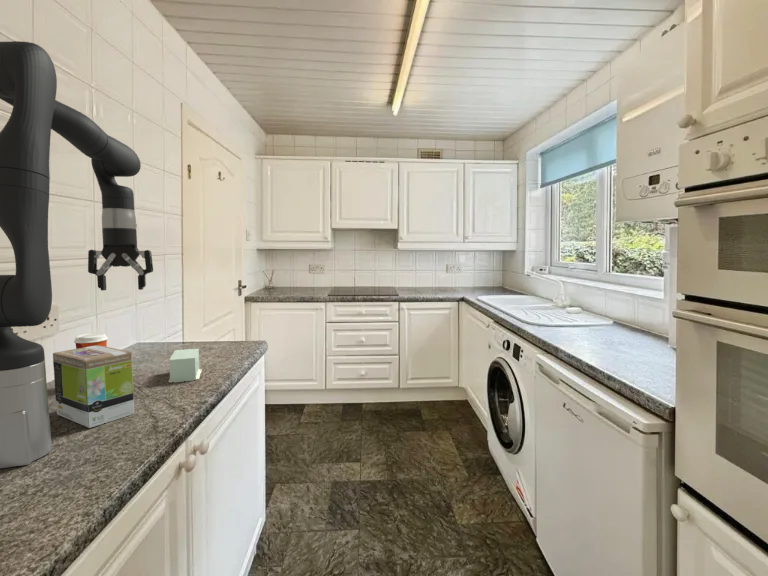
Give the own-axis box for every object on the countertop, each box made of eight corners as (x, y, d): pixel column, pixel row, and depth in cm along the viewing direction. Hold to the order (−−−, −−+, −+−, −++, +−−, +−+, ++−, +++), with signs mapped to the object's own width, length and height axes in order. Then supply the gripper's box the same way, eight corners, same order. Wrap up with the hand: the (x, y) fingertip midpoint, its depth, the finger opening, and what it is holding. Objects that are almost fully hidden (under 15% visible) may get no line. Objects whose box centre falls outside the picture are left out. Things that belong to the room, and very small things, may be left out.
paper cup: (93, 390, 112) (90, 338, 111) (69, 388, 113) (66, 337, 112) (117, 381, 120) (114, 332, 118) (95, 379, 121) (91, 331, 120)
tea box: (136, 413, 97) (133, 350, 95) (88, 430, 88) (83, 361, 87) (102, 401, 104) (98, 342, 103) (55, 415, 96) (50, 351, 94)
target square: (199, 379, 121) (199, 378, 121) (168, 382, 119) (168, 381, 119) (201, 369, 131) (201, 369, 131) (173, 372, 128) (173, 371, 128)
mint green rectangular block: (195, 380, 120) (194, 357, 120) (170, 382, 118) (169, 359, 118) (199, 369, 131) (198, 348, 131) (176, 371, 129) (175, 350, 129)
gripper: (81, 225, 103) (85, 291, 104) (147, 227, 107) (150, 290, 108) (92, 227, 110) (95, 289, 111) (153, 228, 114) (155, 288, 115)
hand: (122, 289), depth 110 cm, fingers open, 8 cm apart
